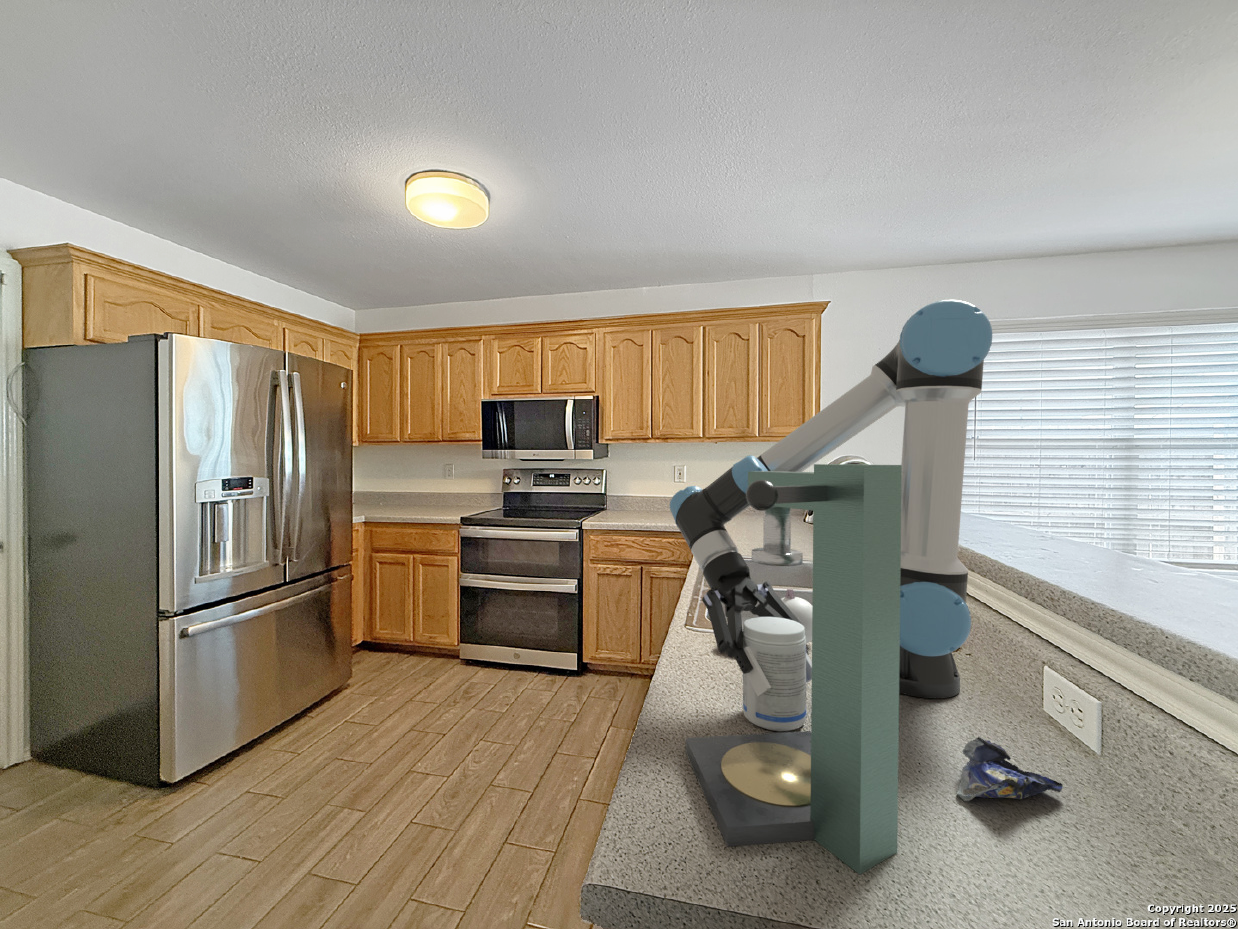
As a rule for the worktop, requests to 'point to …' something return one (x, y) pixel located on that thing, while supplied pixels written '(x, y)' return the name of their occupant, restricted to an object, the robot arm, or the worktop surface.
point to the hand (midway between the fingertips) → (789, 685)
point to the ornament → (800, 611)
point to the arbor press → (826, 677)
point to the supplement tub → (776, 673)
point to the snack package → (999, 774)
